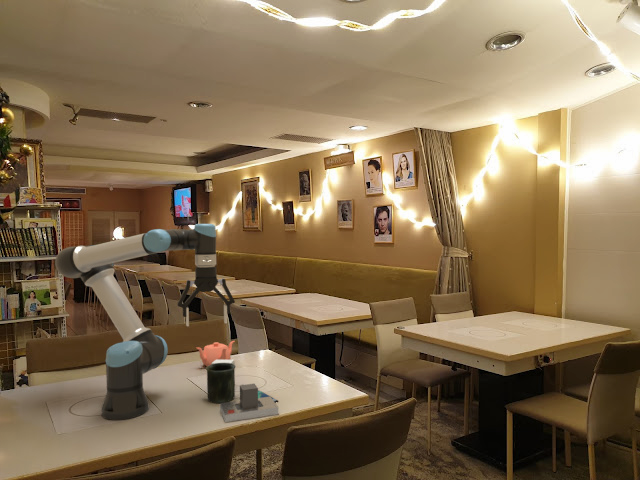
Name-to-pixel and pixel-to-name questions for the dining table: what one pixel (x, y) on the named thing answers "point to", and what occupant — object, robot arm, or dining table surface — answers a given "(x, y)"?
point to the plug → (248, 396)
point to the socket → (248, 410)
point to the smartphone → (261, 395)
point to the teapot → (215, 352)
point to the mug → (220, 382)
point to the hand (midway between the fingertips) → (206, 324)
